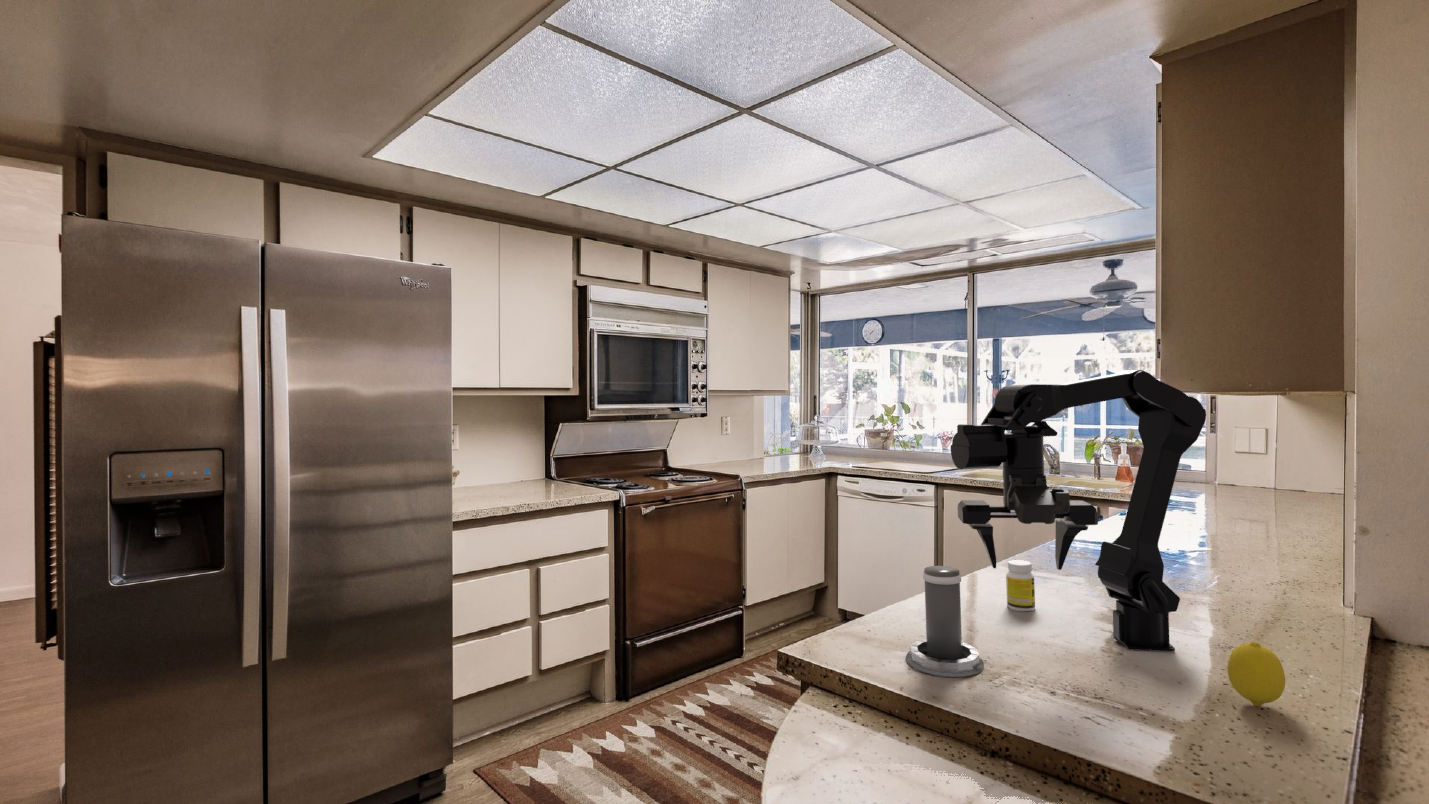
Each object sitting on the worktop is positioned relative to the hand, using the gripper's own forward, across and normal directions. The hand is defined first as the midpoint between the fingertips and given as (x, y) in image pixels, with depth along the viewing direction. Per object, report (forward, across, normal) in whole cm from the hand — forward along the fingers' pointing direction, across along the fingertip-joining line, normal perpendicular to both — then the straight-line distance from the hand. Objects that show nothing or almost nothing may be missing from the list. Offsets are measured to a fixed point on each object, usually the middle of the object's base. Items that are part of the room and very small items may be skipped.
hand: (1026, 568), depth 100 cm
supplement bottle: (+13, +4, +22) cm, 26 cm away
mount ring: (+13, -13, -5) cm, 19 cm away
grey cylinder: (+13, -13, -5) cm, 19 cm away
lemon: (+13, +23, -14) cm, 30 cm away
